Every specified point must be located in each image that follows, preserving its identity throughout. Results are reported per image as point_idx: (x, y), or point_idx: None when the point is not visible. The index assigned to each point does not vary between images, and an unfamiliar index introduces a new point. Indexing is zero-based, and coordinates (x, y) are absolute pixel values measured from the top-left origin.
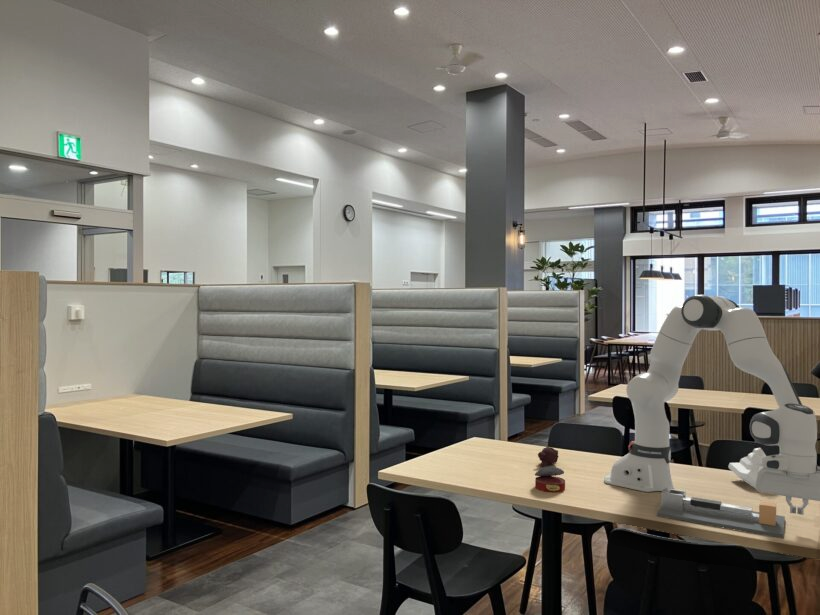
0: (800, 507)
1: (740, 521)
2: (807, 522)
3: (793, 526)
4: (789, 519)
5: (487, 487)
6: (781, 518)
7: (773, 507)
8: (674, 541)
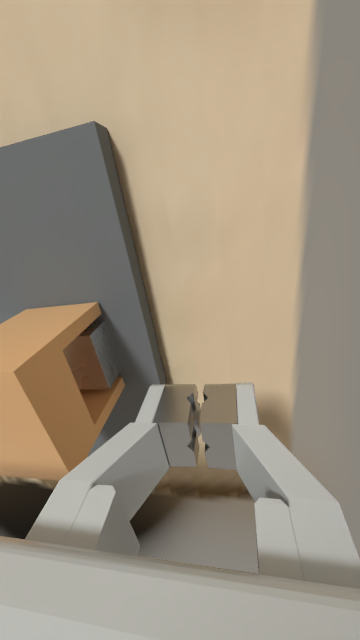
0: (231, 448)
1: None
2: (262, 32)
3: (185, 254)
4: (127, 72)
5: None
6: (98, 211)
7: (63, 474)
8: None
